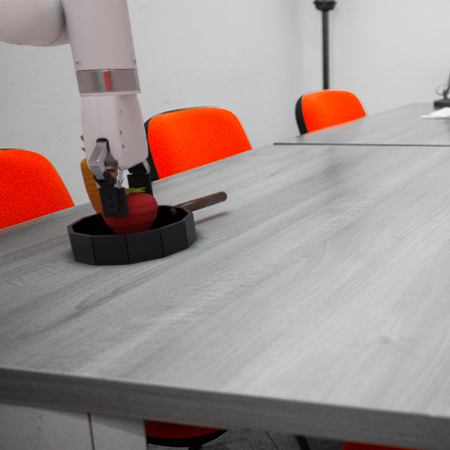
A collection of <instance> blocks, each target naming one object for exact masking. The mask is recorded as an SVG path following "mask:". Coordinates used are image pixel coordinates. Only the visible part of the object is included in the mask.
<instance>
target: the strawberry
mask: <svg viewBox="0 0 450 450" xmlns="http://www.w3.org/2000/svg"><path fill="white" fill-rule="evenodd" d="M124 181H125V177H122V184H123V183H124ZM121 187H123V185H121ZM142 189H145V187H144V188H136V189H134V188H129V187H128V188H126V187H125V191H126V197H127V202H128V208H129V215H128V216H127V217H113V218H106V217H104V215H103V209H102V207H101V214H102V216H103V218H104V220H105V222H106V224H107V225H108V226H109V227H110V228H111V229H113V230H114V231H115V232H116V233H117V234H118V235H121V234H130V233H136V232H142V231H147V230H149V229H150V227H151V225H152V223H153V222H154V220H155V218H156V216H157V210H158V205H159V204H158V202H157V199H156V197H154V195H153V196H151V195H150V194H144V193H140V192H145V191H142Z"/></svg>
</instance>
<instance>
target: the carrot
mask: <svg viewBox="0 0 450 450" xmlns="http://www.w3.org/2000/svg"><path fill="white" fill-rule="evenodd" d="M79 138H80V140H81V141H82V142H83V143H84V139H83V134H81V135H80V137H79ZM80 150H82V151H83V152H85V146H83V147H81V148H80ZM79 166H80V172H81V177H82V180H83V184H84V189H85V191H86V194H87V197H88V199H89V201H90V204H91V206H92V209H93V210H94V211H95V214H97V213H100V212H101V207H102V204H101V198H100V193H99V190H98V189H97V186H96V183H97V182H96V181H95V180H94V178H93V172H92V171H91V170H90V169H89V168H88V165H87V159H86V157H84V158H83V159H82V160H81V161H80V164H79ZM111 175H112V176H113V177H114V176H115V173H111Z"/></svg>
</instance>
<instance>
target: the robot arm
mask: <svg viewBox="0 0 450 450" xmlns="http://www.w3.org/2000/svg"><path fill="white" fill-rule="evenodd" d="M128 5H129V4H128V1H127V0H0V42H3V43H5V44H9V45H14V46H15V45H17V46H32V47H41V48H42V47H43V48H44V47H45V48H50V47H57V46H58V47H59V46H65V45H70V50H71V55H72V63H73V67H74V70H75V71H74V72H75V73H74V74H75V78H76V82H77V83H76V84H77V88H78V89H77V90H78V94H79V97H80V117H81V131H82V135H83V139H84V142H83V147H85V151H84V152H85V153H84V154H85V158H86V159H87V165H88V168H89V169H90V170H91V171H92V172H93V178H94V180H95V181H96V182H97V183H96V186H97V189H98V190H99V193H100V198H101V204H102V209H103V215H104V217H106V218H113V217H127V216H128V215H129V208H128V202H127V197H126V191H125V188H126V186H123V185H122V184H123V183H122V180H123V178H124V177H123V176H124V171H126V170H127V172H128V173H129V174H128V173H127V174H126V179H127V186H128V188H134V189H136V188H144V187H145V189H142V191H145V192H140V193H144V194H150V195H151V196H153V197H154V191H153V184H152V179H151V178H152V177H151V173H150V172H151V167H150V165H149V160H150V158H149V157H150V156H149V148H148V146H149V145H148V138H147V133H146V129H145V123H144V117H143V114H142V109H141V105H140V101H139V98H138V95H139V94H142V90H141V82H140V76H139V71H138V65H137V57H136V51H135V43H134V38H133V32H132V24H131V18H130V11H129V6H128ZM111 173H115V176H114V177H113V176H112V175H111ZM121 185H122V187H121Z"/></svg>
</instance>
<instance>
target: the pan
mask: <svg viewBox="0 0 450 450" xmlns="http://www.w3.org/2000/svg"><path fill="white" fill-rule="evenodd" d="M227 200H228V194H227V192H225V191H222V190H221V191H218V192H214V193H211V194H208V195H204V196H201V197H198V198H194V199H191V200H188V201H184V202H181V203H178V204H174V205H169V204H158V210H157V216H156V218H155V220H154V222H153V223H152V225H151V227H150V229H149V230H147V231H142V232H136V233H130V234H121V235H118V234H117V233H116V232H115V231H114V230H113V229H111V228H110V227H109V226H108V225H107V224H106V222H105V220H104V218H103V216H102V214H101V212H100V213H93V214H90V215H86V216H83V217H80V218H79V219H76V220H75V221H73V222H71V223H69V224H68V225H66V230H67V235H68V241H69V245H70V250H71V254H72V258H73V260H74V261H75V262H76V263H83V264H85V265H92V266H117V265H118V266H119V265H130V264H131V265H132V264H136V263H142V262H146V261H147V262H148V261H153V260H156V259H162V258H166V257H168V256H171V255H173V254H176V253H178V252H181V251H184V250H186V249H188V248H189V247H190V246H191V245H192V244H193V243H194V242H195V241H196V240H197V232H196V225H195V217H194V212H197V211H199V210H202V209H206V208H209V207H212V206H215V205H217V204H218V205H219V204H221V203H223V202H226V201H227Z"/></svg>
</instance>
